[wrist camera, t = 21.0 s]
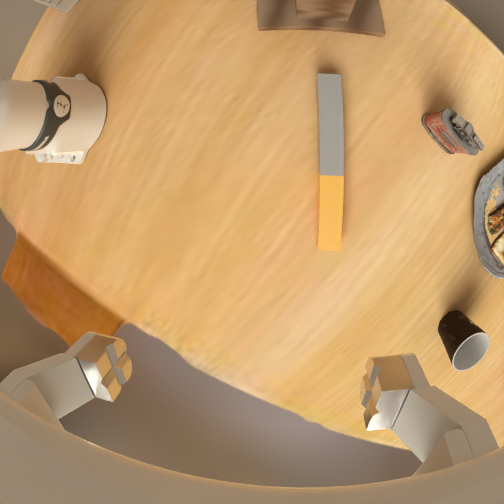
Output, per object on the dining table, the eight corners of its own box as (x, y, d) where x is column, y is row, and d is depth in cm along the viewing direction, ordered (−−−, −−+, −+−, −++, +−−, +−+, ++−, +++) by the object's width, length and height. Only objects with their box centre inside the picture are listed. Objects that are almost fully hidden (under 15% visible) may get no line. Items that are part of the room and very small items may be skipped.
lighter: (417, 123, 36) (447, 116, 27) (427, 109, 35) (458, 101, 25) (449, 158, 37) (482, 161, 27) (458, 144, 35) (492, 145, 26)
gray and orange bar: (316, 243, 45) (317, 250, 42) (315, 79, 37) (317, 73, 33) (337, 244, 44) (340, 250, 41) (337, 80, 36) (341, 74, 33)
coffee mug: (470, 326, 45) (491, 353, 36) (438, 348, 48) (456, 378, 38) (459, 286, 43) (484, 311, 34) (424, 310, 46) (444, 340, 36)
